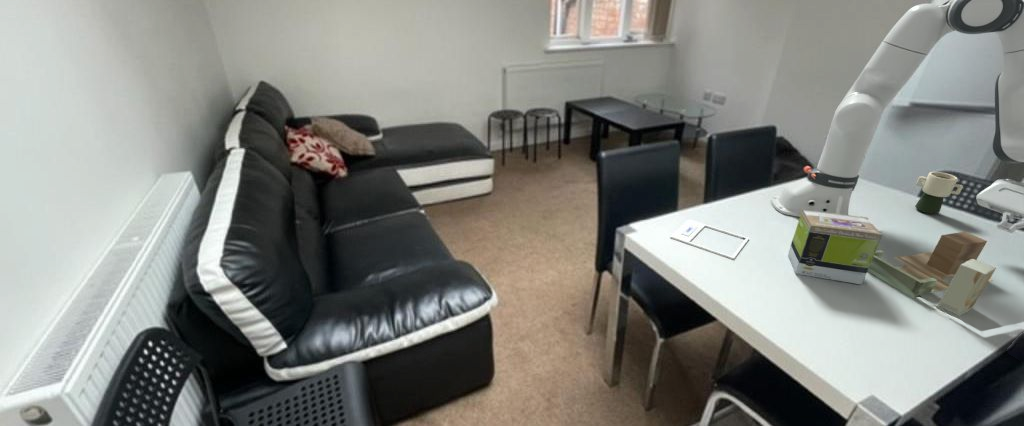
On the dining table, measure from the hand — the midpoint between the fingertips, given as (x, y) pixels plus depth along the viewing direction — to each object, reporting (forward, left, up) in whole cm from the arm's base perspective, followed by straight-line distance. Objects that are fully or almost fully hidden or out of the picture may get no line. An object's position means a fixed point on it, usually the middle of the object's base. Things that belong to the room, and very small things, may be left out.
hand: (1003, 229), depth 114 cm
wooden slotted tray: (-18, -11, -11) cm, 24 cm away
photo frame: (-70, -7, -12) cm, 72 cm away
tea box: (-43, -16, -11) cm, 47 cm away
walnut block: (-12, -7, -10) cm, 17 cm away
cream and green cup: (+3, +34, -11) cm, 36 cm away
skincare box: (-19, -26, -11) cm, 34 cm away
